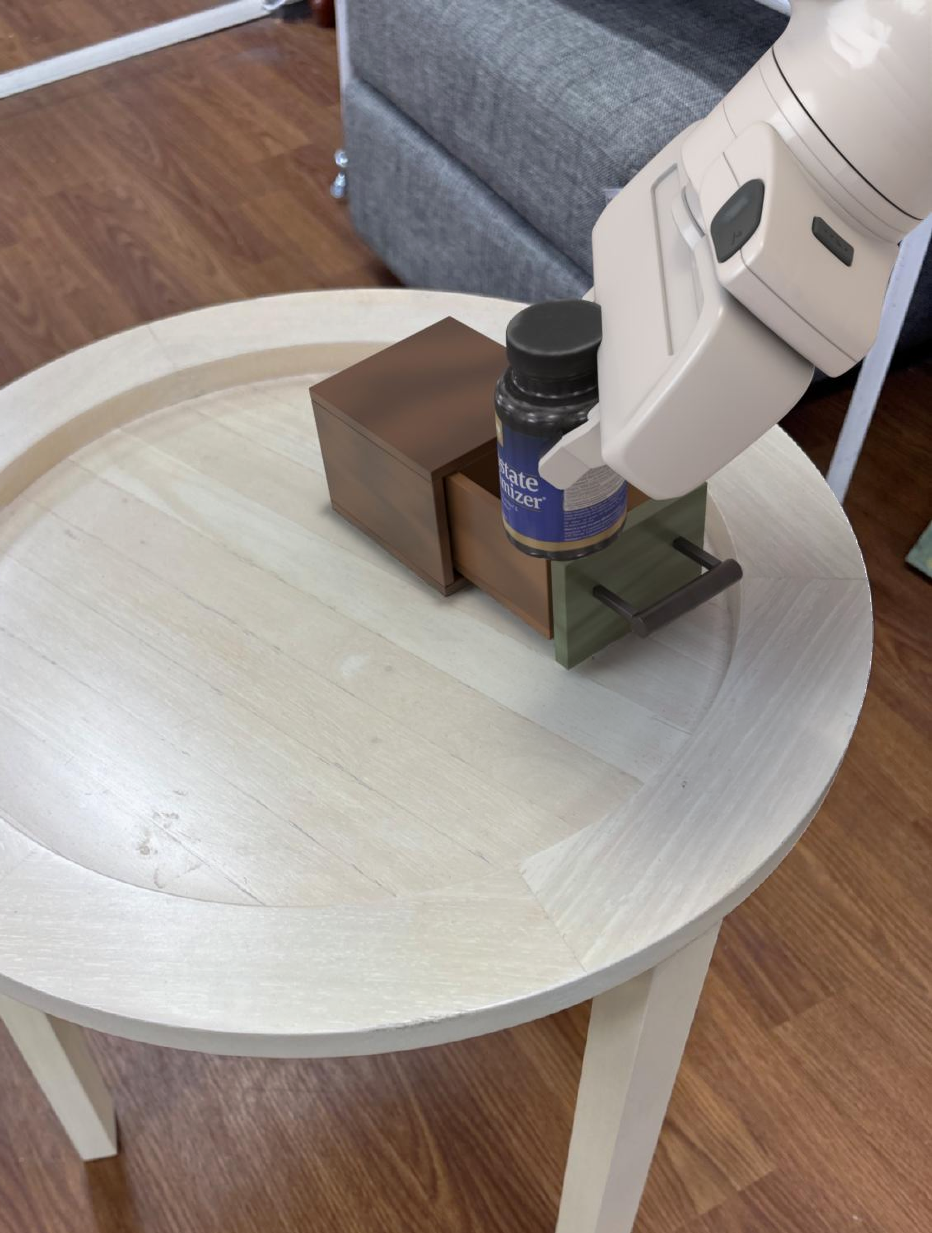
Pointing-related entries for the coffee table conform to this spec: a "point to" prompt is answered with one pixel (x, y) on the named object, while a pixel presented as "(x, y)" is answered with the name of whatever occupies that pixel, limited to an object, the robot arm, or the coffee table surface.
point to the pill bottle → (553, 433)
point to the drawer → (587, 566)
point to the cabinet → (409, 438)
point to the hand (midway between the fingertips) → (548, 426)
